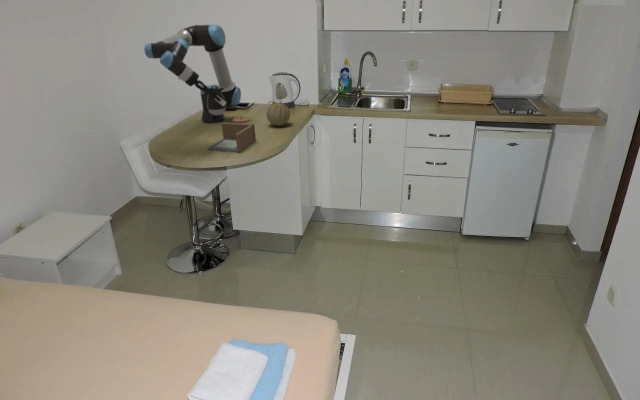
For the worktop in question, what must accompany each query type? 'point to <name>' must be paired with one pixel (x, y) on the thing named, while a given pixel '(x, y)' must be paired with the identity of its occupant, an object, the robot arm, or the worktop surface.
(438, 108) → the worktop surface
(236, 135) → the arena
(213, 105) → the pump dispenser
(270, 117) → the cantaloupe
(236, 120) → the lidded jar
